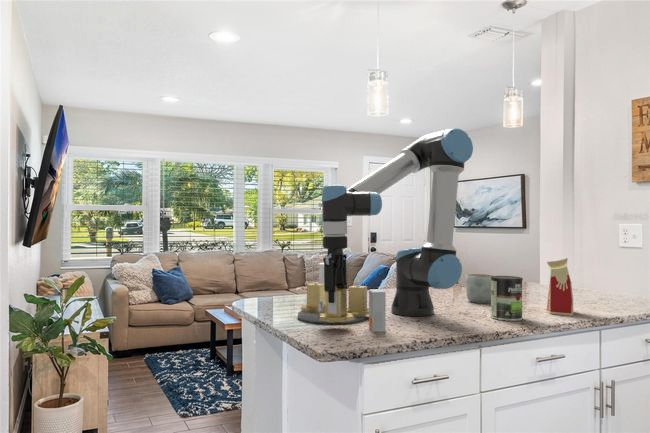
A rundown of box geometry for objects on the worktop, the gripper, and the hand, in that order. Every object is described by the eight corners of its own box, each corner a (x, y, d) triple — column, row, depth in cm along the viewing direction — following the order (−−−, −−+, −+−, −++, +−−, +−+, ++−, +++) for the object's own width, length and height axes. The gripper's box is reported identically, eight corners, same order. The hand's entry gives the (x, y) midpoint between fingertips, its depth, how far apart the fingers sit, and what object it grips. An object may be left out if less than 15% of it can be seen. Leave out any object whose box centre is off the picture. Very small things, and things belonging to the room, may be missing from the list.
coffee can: (529, 319, 175) (529, 277, 175) (507, 322, 171) (507, 279, 171) (505, 314, 184) (505, 274, 184) (484, 317, 180) (484, 276, 180)
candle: (317, 299, 216) (317, 264, 216) (319, 297, 223) (320, 262, 223) (333, 300, 215) (333, 264, 215) (335, 297, 222) (335, 262, 222)
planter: (501, 304, 206) (501, 277, 206) (470, 304, 206) (470, 277, 206) (491, 299, 219) (491, 273, 219) (462, 299, 219) (462, 273, 219)
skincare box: (368, 327, 161) (368, 289, 161) (382, 327, 161) (382, 289, 161) (371, 332, 155) (372, 292, 155) (386, 331, 155) (386, 291, 155)
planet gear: (360, 316, 162) (359, 287, 161) (347, 323, 151) (346, 293, 151) (326, 314, 166) (326, 286, 166) (311, 321, 156) (311, 291, 156)
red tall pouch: (573, 311, 191) (573, 257, 191) (573, 316, 182) (573, 259, 182) (546, 309, 194) (546, 256, 194) (545, 313, 186) (545, 258, 186)
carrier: (379, 315, 182) (379, 283, 182) (357, 327, 161) (357, 291, 161) (309, 309, 193) (309, 279, 193) (280, 320, 172) (280, 287, 172)
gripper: (334, 234, 168) (336, 305, 168) (311, 237, 152) (313, 316, 152) (356, 234, 165) (357, 307, 165) (335, 237, 149) (336, 318, 149)
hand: (336, 311), depth 159 cm, fingers closed on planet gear, 5 cm apart
